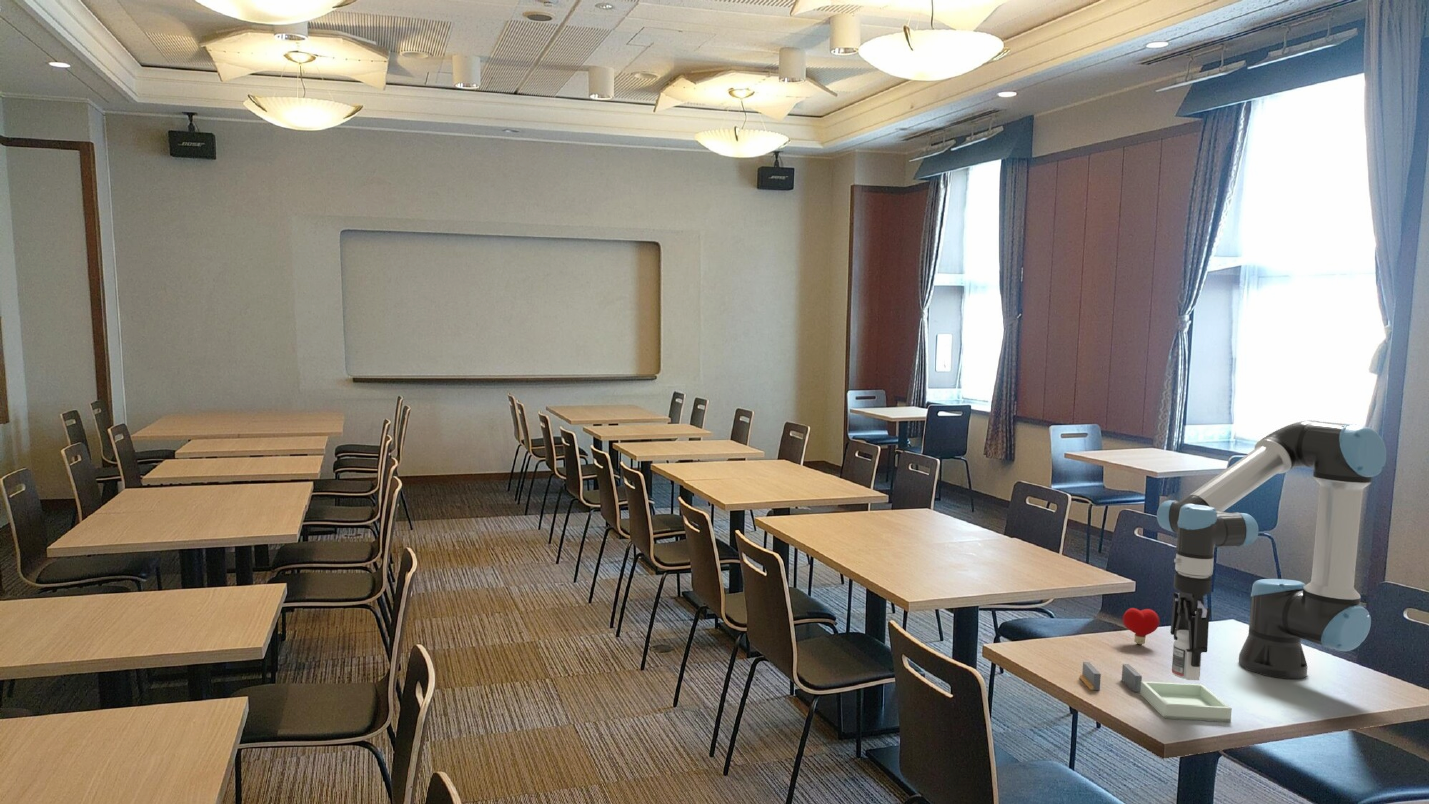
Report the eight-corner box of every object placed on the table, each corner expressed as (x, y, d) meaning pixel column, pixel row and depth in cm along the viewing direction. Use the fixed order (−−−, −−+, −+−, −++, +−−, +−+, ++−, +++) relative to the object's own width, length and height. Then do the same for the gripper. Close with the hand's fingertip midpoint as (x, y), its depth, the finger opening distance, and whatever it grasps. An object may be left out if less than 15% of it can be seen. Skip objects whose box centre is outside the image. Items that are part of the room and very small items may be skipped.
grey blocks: (1130, 680, 227) (1131, 664, 227) (1143, 692, 219) (1144, 676, 219) (1079, 677, 228) (1080, 661, 227) (1090, 689, 220) (1091, 673, 219)
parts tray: (1201, 697, 217) (1202, 684, 217) (1230, 722, 203) (1231, 708, 203) (1140, 694, 218) (1141, 681, 218) (1165, 718, 204) (1166, 704, 204)
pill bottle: (1199, 674, 211) (1202, 631, 211) (1200, 682, 206) (1203, 638, 206) (1171, 669, 214) (1174, 627, 213) (1171, 677, 209) (1174, 634, 208)
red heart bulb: (1125, 647, 251) (1127, 611, 251) (1118, 639, 258) (1120, 604, 257) (1161, 650, 250) (1163, 614, 249) (1153, 642, 257) (1155, 606, 256)
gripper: (1158, 563, 218) (1152, 659, 220) (1194, 584, 199) (1187, 688, 201) (1191, 564, 217) (1184, 660, 219) (1230, 585, 199) (1222, 690, 200)
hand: (1185, 674), depth 210 cm, fingers closed on pill bottle, 6 cm apart
